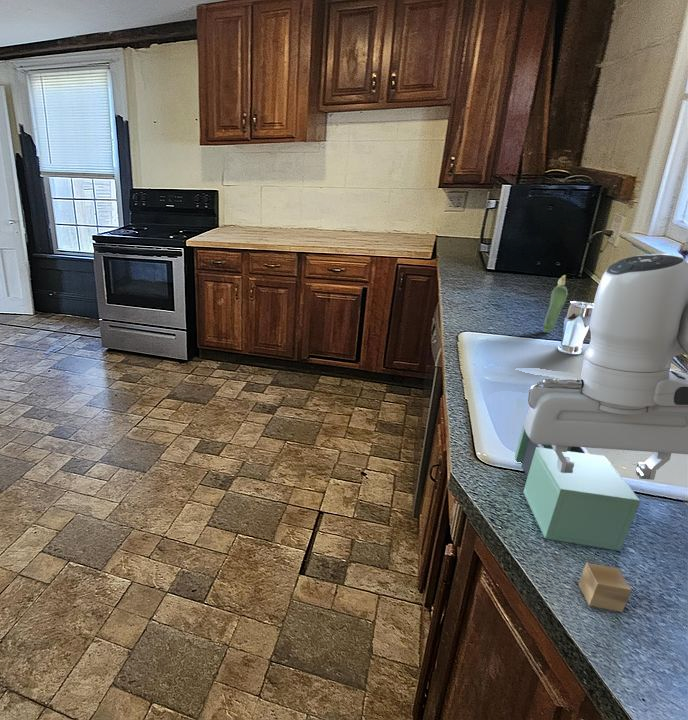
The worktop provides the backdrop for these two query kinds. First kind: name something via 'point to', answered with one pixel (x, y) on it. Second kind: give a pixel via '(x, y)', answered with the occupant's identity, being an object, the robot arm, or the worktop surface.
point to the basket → (528, 449)
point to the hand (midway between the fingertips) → (603, 473)
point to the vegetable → (555, 304)
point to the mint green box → (580, 500)
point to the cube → (604, 587)
